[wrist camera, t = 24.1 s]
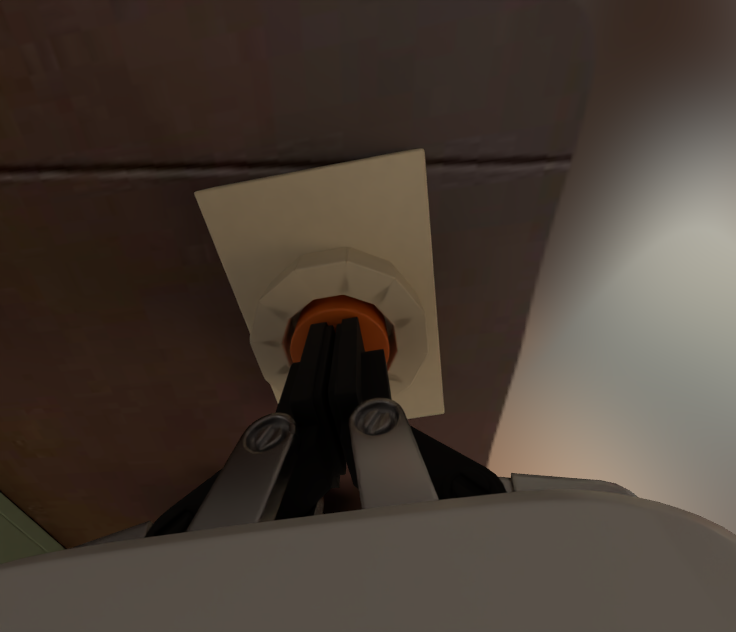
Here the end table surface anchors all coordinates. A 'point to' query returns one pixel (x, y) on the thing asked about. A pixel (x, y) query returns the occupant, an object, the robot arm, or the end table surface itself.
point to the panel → (335, 261)
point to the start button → (333, 314)
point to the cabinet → (21, 534)
